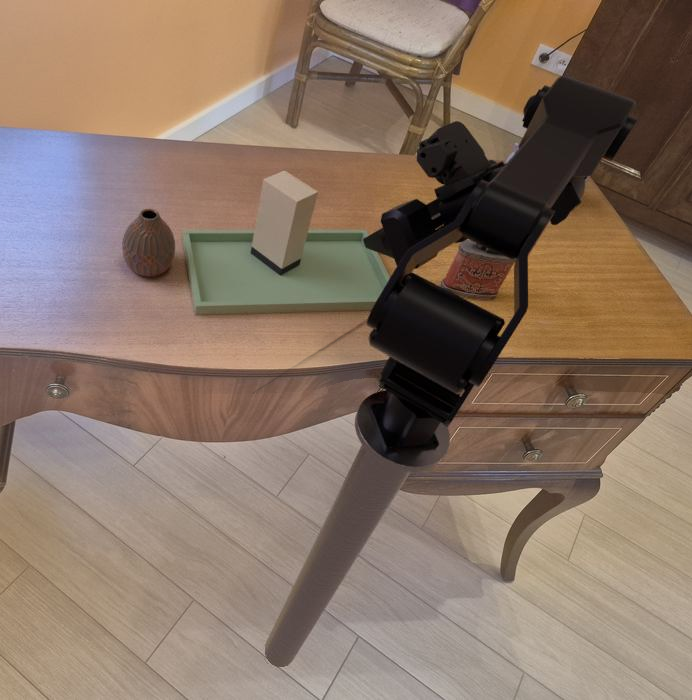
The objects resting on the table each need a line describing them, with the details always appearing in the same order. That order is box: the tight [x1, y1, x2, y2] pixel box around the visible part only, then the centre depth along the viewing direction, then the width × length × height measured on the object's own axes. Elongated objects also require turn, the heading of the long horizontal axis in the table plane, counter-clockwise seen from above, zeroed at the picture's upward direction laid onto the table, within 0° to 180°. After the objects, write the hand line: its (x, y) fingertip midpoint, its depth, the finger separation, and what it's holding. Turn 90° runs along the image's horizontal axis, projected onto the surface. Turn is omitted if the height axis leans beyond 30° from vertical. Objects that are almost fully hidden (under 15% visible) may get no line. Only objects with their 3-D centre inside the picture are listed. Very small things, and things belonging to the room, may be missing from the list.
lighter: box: [439, 239, 517, 301], centre depth 84 cm, size 8×3×10 cm, turn 84°
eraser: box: [251, 170, 319, 276], centre depth 82 cm, size 6×4×12 cm, turn 43°
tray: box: [181, 229, 391, 316], centre depth 85 cm, size 16×28×2 cm, turn 99°
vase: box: [121, 208, 176, 278], centre depth 80 cm, size 7×7×9 cm
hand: (389, 229), depth 72 cm, fingers open, 9 cm apart
